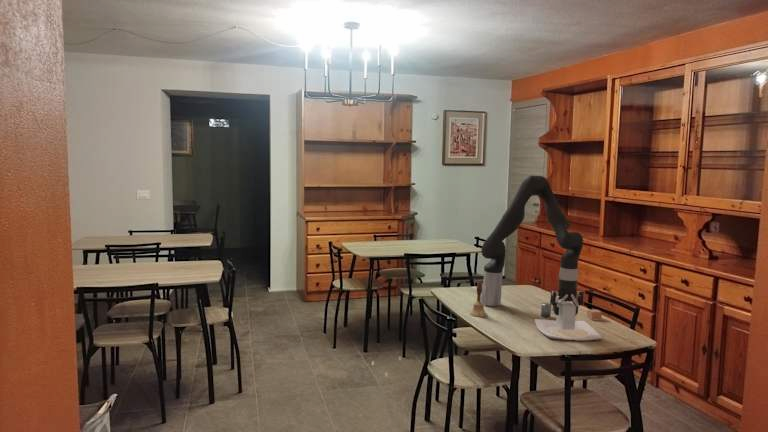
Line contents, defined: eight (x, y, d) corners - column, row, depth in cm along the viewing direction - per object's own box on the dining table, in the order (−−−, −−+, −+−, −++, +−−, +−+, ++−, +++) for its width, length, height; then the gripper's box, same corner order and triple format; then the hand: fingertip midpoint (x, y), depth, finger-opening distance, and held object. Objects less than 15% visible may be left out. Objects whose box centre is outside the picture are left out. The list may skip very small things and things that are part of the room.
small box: (574, 330, 221) (576, 306, 220) (561, 330, 221) (563, 306, 220) (568, 324, 229) (569, 301, 228) (555, 324, 229) (557, 300, 228)
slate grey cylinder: (543, 317, 244) (544, 305, 244) (539, 315, 249) (540, 303, 248) (552, 317, 245) (553, 305, 245) (547, 315, 249) (548, 302, 249)
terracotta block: (591, 320, 243) (592, 312, 243) (586, 317, 247) (587, 309, 247) (601, 320, 244) (601, 311, 244) (596, 317, 248) (597, 309, 247)
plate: (531, 323, 237) (531, 318, 237) (584, 325, 236) (585, 320, 236) (546, 342, 213) (546, 336, 212) (606, 344, 212) (606, 338, 212)
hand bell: (466, 312, 249) (467, 280, 248) (481, 311, 252) (482, 279, 251) (474, 317, 242) (476, 284, 240) (490, 316, 245) (492, 283, 243)
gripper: (556, 280, 218) (554, 317, 219) (588, 279, 220) (585, 317, 222) (548, 276, 225) (546, 312, 227) (579, 276, 227) (576, 312, 229)
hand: (565, 314), depth 224 cm, fingers open, 8 cm apart
